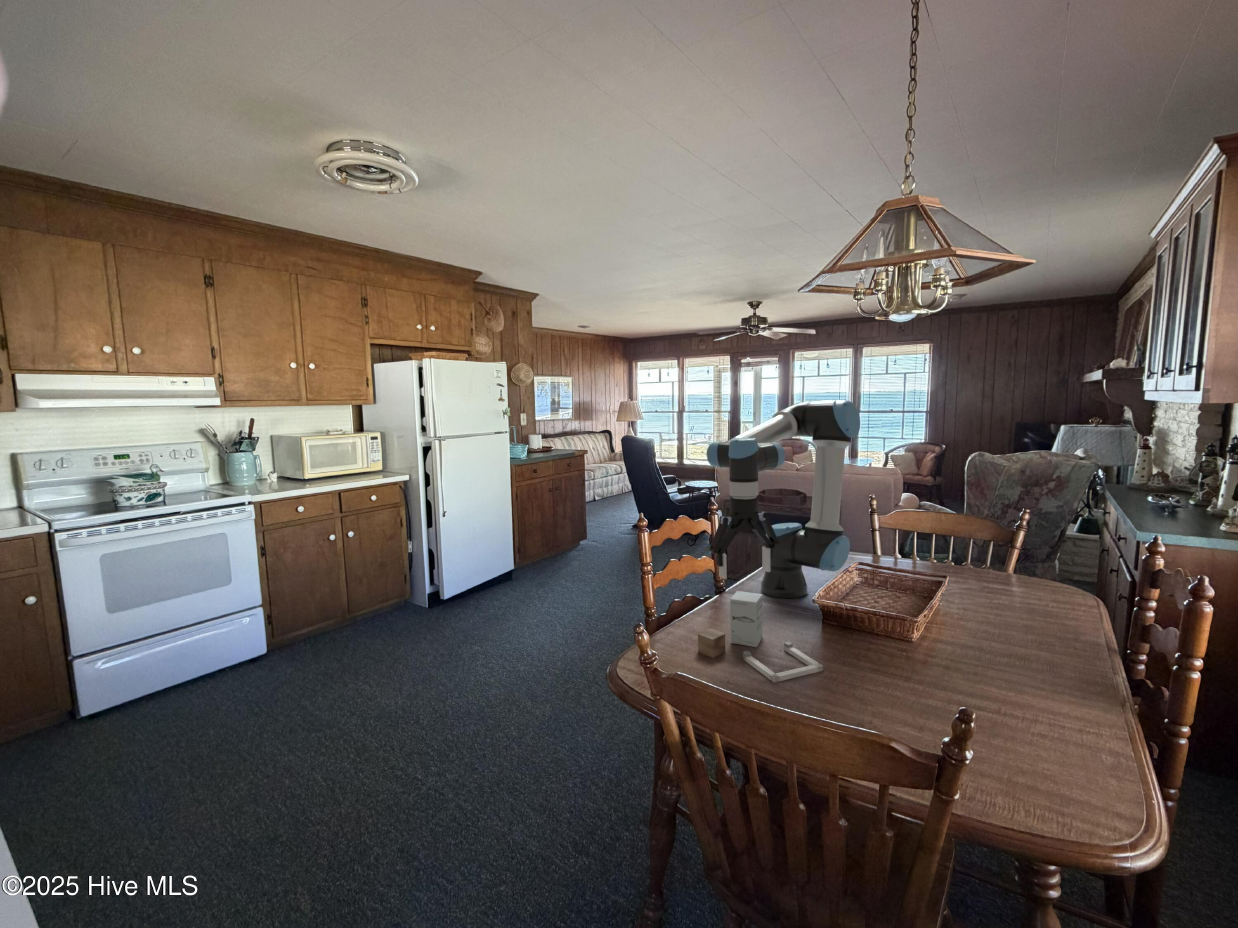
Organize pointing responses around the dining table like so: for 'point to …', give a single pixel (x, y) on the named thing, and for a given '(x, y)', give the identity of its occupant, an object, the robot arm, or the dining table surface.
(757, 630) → the supplement box
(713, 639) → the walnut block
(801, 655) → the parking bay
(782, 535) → the robot arm
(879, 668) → the dining table surface
